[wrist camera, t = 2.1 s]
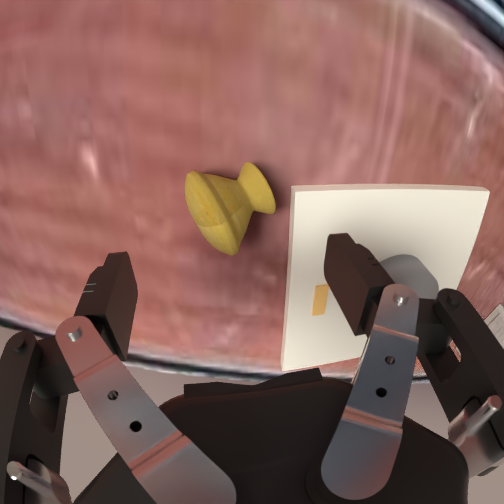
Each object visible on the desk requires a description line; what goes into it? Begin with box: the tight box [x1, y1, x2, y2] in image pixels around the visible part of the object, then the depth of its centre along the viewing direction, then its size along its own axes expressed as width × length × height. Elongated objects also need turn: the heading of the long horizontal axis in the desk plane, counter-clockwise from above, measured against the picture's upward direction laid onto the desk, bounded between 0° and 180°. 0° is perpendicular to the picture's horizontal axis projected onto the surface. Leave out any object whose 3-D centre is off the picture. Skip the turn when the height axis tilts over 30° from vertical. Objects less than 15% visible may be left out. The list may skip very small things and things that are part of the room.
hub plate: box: [281, 184, 490, 371], centre depth 23 cm, size 18×18×4 cm
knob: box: [185, 162, 276, 256], centre depth 17 cm, size 5×5×5 cm
